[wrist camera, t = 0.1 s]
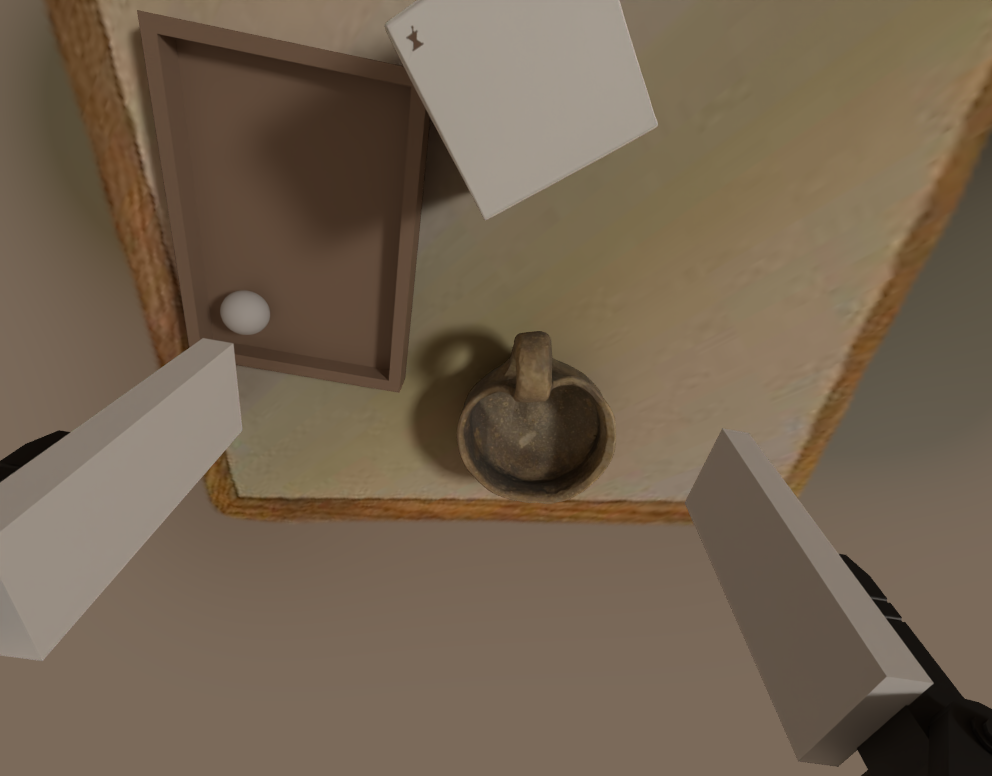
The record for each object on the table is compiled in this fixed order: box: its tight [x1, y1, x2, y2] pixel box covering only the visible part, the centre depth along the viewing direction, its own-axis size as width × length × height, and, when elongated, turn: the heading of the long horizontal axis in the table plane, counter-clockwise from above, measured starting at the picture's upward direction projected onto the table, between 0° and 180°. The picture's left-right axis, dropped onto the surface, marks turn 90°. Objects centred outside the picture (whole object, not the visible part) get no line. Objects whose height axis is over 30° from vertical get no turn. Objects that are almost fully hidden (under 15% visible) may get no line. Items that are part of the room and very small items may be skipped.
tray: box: [137, 10, 430, 392], centre depth 37 cm, size 24×18×2 cm
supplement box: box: [385, 0, 658, 220], centre depth 26 cm, size 9×9×15 cm
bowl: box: [457, 331, 616, 503], centre depth 40 cm, size 14×18×10 cm
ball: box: [220, 290, 270, 335], centre depth 39 cm, size 4×4×4 cm
